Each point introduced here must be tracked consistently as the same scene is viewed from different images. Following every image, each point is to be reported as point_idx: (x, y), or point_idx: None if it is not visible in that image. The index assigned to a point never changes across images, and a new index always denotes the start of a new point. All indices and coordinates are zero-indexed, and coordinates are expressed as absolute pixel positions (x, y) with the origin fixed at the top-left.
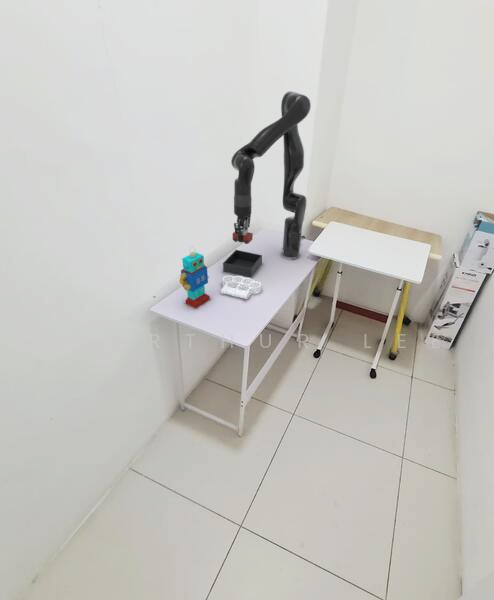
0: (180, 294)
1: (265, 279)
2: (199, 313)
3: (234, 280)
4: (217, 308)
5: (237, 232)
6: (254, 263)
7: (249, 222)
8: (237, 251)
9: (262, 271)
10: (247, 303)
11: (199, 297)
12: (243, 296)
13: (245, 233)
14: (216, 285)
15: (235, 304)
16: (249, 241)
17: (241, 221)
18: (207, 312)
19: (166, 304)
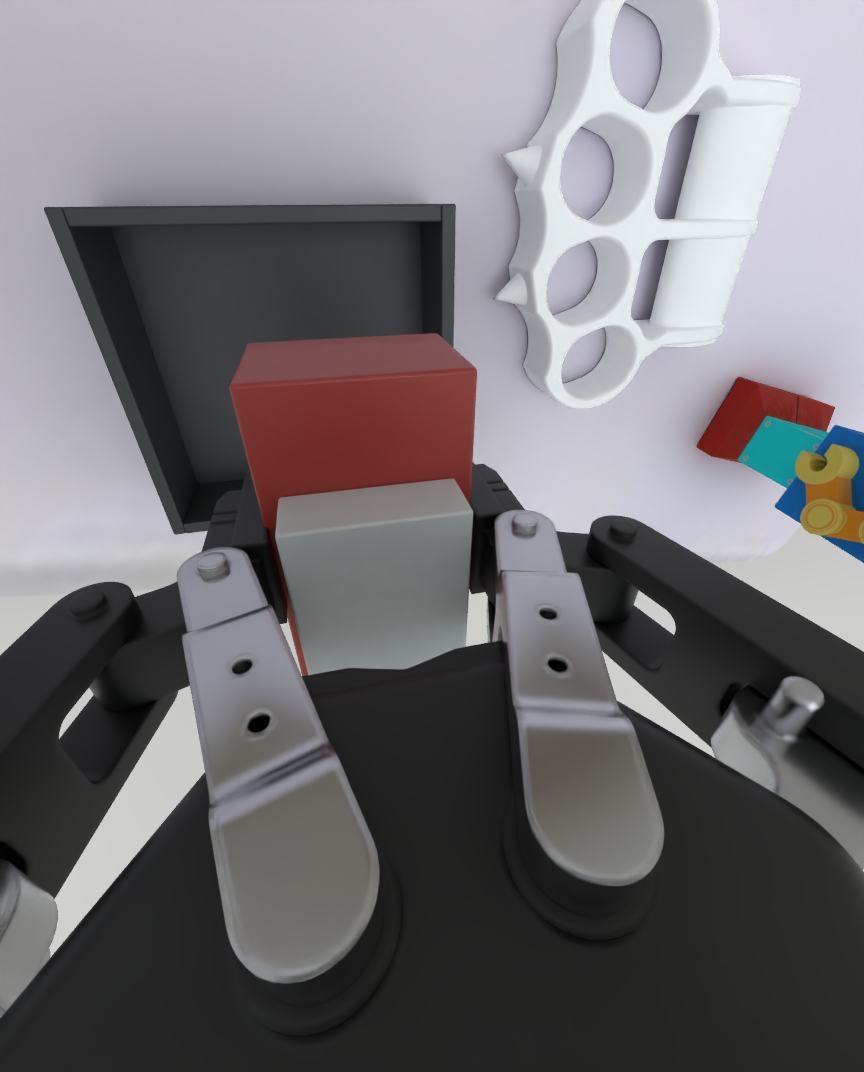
0: (694, 525)
1: (376, 14)
2: (856, 358)
3: (562, 319)
4: (826, 283)
5: (632, 604)
6: (162, 291)
7: (2, 698)
8: (180, 509)
9: (237, 131)
10: (794, 64)
11: (798, 420)
12: (788, 119)
13: (424, 498)
14: (591, 419)
15: (798, 174)
16: (418, 340)
17: (843, 851)
18: (855, 322)
19: (768, 526)
